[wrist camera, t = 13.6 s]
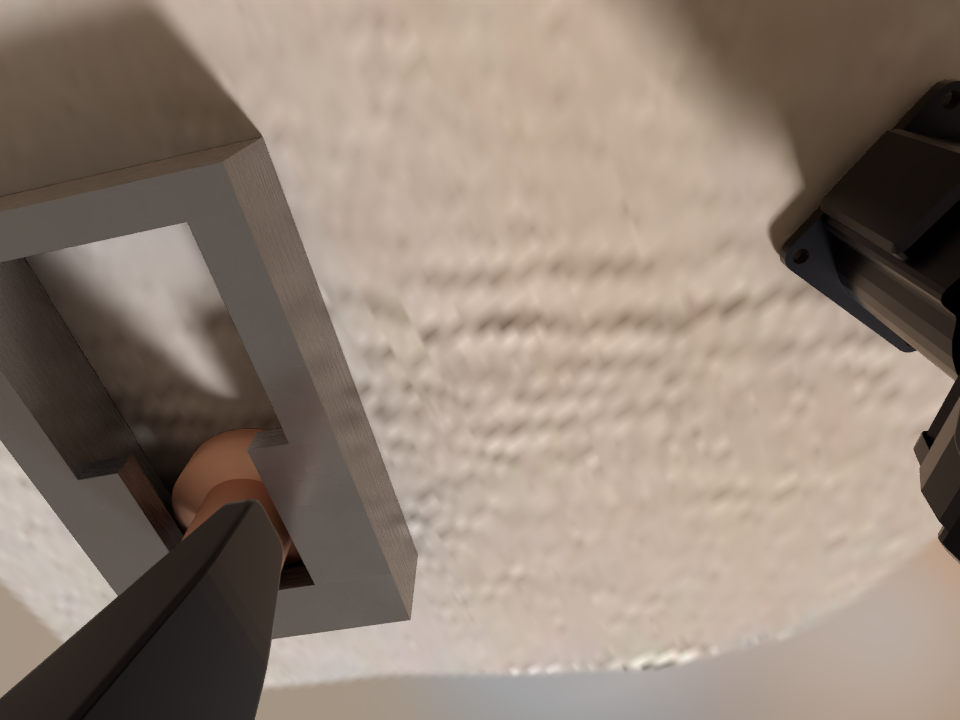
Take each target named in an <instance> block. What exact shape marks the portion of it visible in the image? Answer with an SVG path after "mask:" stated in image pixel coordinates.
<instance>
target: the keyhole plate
mask: <svg viewBox="0 0 960 720" xmlns="http://www.w3.org/2000/svg"><path fill="white" fill-rule="evenodd" d="M184 222H187V223H188V225H189V227H190V229H191V231H192V234H193V236H194V238H195V240H196V242H197V244H198V247H199V249H200V251H201V253H202V255H203V258H204V260H205V262H206V264H207V266H208V268H209V271H210V273H211V275H212V277H213V279H214V281H215V284H216V286H217V288H218V290H219V292H220V294H221V297H222V299H223V301H224V303H225V305H226V307H227V310H228V312H229V314H230V316H231V318H232V321H233V323H234V325H235V327H236V329H237V331H238V334H239V336H240V338H241V340H242V342H243V344H244V347H245V349H246V351H247V353H248V355H249V357H250V360H251V362H252V364H253V366H254V368H255V370H256V373H257V375H258V377H259V379H260V381H261V384H262V386H263V388H264V390H265V392H266V394H267V397H268V399H269V401H270V403H271V405H272V407H273V410H274V412H275V414H276V416H277V418H278V420H279V423H280V425H281V427H282V428H279V429H273V430H267V431H262V432H257V433H256V435H255V437H254V439H253V440H252V442H251V444H250V446H249V448H248V450H247V452H248V454H249V456H250V458H251V460H252V462H253V464H254V466H255V468H256V470H257V472H258V473H259V475H260V477H261V479H262V481H263V483H264V485H265V487H266V489H267V491H268V493H269V495H270V497H271V499H272V501H273V503H274V505H275V507H276V509H277V511H278V513H279V515H280V517H281V519H282V521H283V523H284V525H285V527H286V529H287V531H288V533H289V535H290V537H291V539H292V541H293V542H294V544H295V546H296V548H297V550H298V552H299V554H300V556H301V558H302V560H301V561H298V562H295V563H293V564H289V565H285V566H283V567H282V570H281V576H280V583H279V590H278V597H277V604H276V612H275V619H274V626H273V633H272V639H276V638H283V637H290V636H298V635H305V634H312V633H319V632H326V631H334V630H341V629H348V628H355V627H362V626H370V625H377V624H384V623H391V622H398V621H406V620H410V619H411V610H412V602H413V593H414V584H415V575H416V566H417V557H418V554H417V551H416V549H415V546H414V543H413V541H412V538H411V535H410V533H409V530H408V527H407V525H406V522H405V519H404V516H403V514H402V511H401V508H400V506H399V503H398V500H397V498H396V495H395V492H394V489H393V487H392V484H391V481H390V479H389V476H388V473H387V471H386V468H385V465H384V463H383V460H382V457H381V454H380V452H379V449H378V446H377V444H376V441H375V438H374V436H373V433H372V430H371V427H370V425H369V422H368V419H367V417H366V414H365V411H364V409H363V406H362V403H361V400H360V398H359V395H358V392H357V390H356V387H355V384H354V382H353V379H352V376H351V374H350V371H349V368H348V365H347V363H346V360H345V357H344V355H343V352H342V349H341V347H340V344H339V341H338V338H337V336H336V333H335V330H334V328H333V325H332V322H331V320H330V317H329V314H328V312H327V309H326V306H325V303H324V301H323V298H322V295H321V293H320V290H319V287H318V285H317V282H316V279H315V276H314V274H313V271H312V268H311V266H310V263H309V260H308V258H307V255H306V252H305V250H304V247H303V244H302V241H301V239H300V236H299V233H298V231H297V228H296V225H295V223H294V220H293V217H292V214H291V212H290V209H289V206H288V204H287V201H286V198H285V196H284V193H283V190H282V187H281V185H280V182H279V179H278V177H277V174H276V171H275V169H274V166H273V163H272V161H271V158H270V155H269V152H268V150H267V147H266V144H265V142H264V139H263V137H259V138H255V139H251V140H246V141H242V142H238V143H233V144H229V145H225V146H220V147H216V148H211V149H207V150H203V151H198V152H194V153H190V154H185V155H181V156H177V157H172V158H168V159H163V160H159V161H155V162H150V163H146V164H142V165H137V166H133V167H129V168H124V169H120V170H115V171H111V172H107V173H102V174H98V175H94V176H89V177H85V178H81V179H76V180H72V181H67V182H63V183H59V184H54V185H50V186H46V187H41V188H37V189H33V190H28V191H24V192H19V193H15V194H11V195H6V196H2V197H0V440H1V441H2V443H3V444H4V445H5V447H6V448H7V449H8V451H9V452H10V453H11V455H12V456H13V457H14V459H15V460H16V461H17V463H18V464H19V465H20V467H21V468H22V469H23V471H24V472H25V473H26V475H27V476H28V477H29V479H30V480H31V481H32V483H33V484H34V485H35V486H36V488H37V489H38V490H39V492H40V493H41V494H42V496H43V497H44V498H45V500H46V501H47V502H48V504H49V505H50V506H51V508H52V509H53V510H54V512H55V513H56V514H57V516H58V517H59V518H60V520H61V521H62V522H63V524H64V525H65V526H66V528H67V529H68V530H69V532H70V533H71V534H72V536H73V537H74V538H75V540H76V541H77V542H78V544H79V545H80V546H81V548H82V549H83V550H84V552H85V553H86V554H87V556H88V557H89V558H90V559H91V561H92V562H93V563H94V565H95V566H96V567H97V569H98V570H99V571H100V573H101V574H102V575H103V577H104V578H105V579H106V581H107V582H108V583H109V585H110V586H111V587H112V589H113V590H114V591H115V593H116V594H117V595H118V596H119V595H120V594H121V593H122V592H124V591H125V590H126V589H127V588H128V587H129V586H131V585H132V584H133V583H134V582H135V581H136V580H137V579H139V578H140V577H141V576H142V575H143V574H144V573H146V572H147V571H148V570H149V569H150V568H151V567H152V566H154V565H155V564H156V563H157V562H158V561H159V560H161V559H162V558H163V557H164V556H165V555H166V554H167V553H169V552H170V551H171V550H172V549H173V548H174V547H176V546H177V545H178V544H179V543H180V542H181V541H182V539H183V537H184V535H185V533H184V531H183V530H182V529H181V527H180V526H179V524H178V522H177V520H176V518H175V516H174V512H173V509H172V497H171V496H170V494H169V493H168V491H167V489H166V488H165V486H164V484H163V483H162V481H161V480H160V478H159V476H158V475H157V473H156V471H155V470H154V468H153V467H152V465H151V463H150V462H149V460H148V458H147V457H146V455H145V454H144V452H143V450H142V449H141V447H140V445H139V444H138V442H137V441H136V439H135V437H134V436H133V434H132V432H131V431H130V429H129V427H128V426H127V424H126V423H125V421H124V419H123V418H122V416H121V414H120V413H119V411H118V410H117V408H116V406H115V405H114V403H113V401H112V400H111V398H110V397H109V395H108V393H107V392H106V390H105V388H104V387H103V385H102V384H101V382H100V380H99V379H98V377H97V375H96V374H95V372H94V371H93V369H92V367H91V366H90V364H89V362H88V361H87V359H86V358H85V356H84V354H83V353H82V351H81V349H80V348H79V346H78V345H77V343H76V341H75V340H74V338H73V336H72V335H71V333H70V332H69V330H68V328H67V327H66V325H65V323H64V322H63V320H62V319H61V317H60V315H59V314H58V312H57V310H56V309H55V307H54V306H53V304H52V302H51V301H50V299H49V297H48V296H47V294H46V292H45V291H44V289H43V288H42V286H41V284H40V283H39V281H38V279H37V278H36V276H35V275H34V273H33V271H32V270H31V268H30V266H29V265H28V263H27V262H26V260H25V258H24V257H27V256H32V255H37V254H41V253H46V252H50V251H55V250H60V249H64V248H69V247H73V246H78V245H83V244H87V243H92V242H96V241H101V240H106V239H110V238H115V237H120V236H124V235H129V234H133V233H138V232H143V231H147V230H152V229H156V228H161V227H166V226H170V225H175V224H179V223H184Z"/></svg>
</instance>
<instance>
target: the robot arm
mask: <svg viewBox="0 0 960 720" xmlns="http://www.w3.org/2000/svg"><path fill="white" fill-rule="evenodd" d="M950 91H951V93H952V97H951V100H950V101H949V103H948V104H947V105H945V106H944V107H943V106H942V100H943V98H944V97H945V95H946V94H947V93H949V92H950ZM799 249H804V251H803V254H802V256H801V257H799V258H798V259H794V260H793V255H794V254H795V252H796V251H798V250H799ZM780 260H781V261H782V263H783V264H784V265H785V266H786V267H788V268H789V269H790V270H791V271H793V272H794V273H795V274H797V275H798V276H799V277H801V278H802V279H804V280H805V281H806V282H808V283H809V284H810V285H812V286H813V287H815V288H816V289H817V290H819V291H820V292H821V293H823V294H824V295H825V296H827V297H828V298H830V299H831V300H832V301H834V302H835V303H836V304H838V305H839V306H840V307H842V308H843V309H845V310H846V311H847V312H849V313H850V314H851V315H853V316H854V317H855V318H857V319H858V320H860V321H861V322H862V323H864V324H865V325H866V326H868V327H869V328H871V329H872V330H873V331H875V332H876V333H877V334H879V335H880V336H881V337H883V338H884V339H886V340H887V341H888V342H890V343H891V344H892V345H894V346H895V347H896V348H898V349H899V350H901V351H903V352H913V351H918V352H920V353H921V354H922V355H923V356H925V357H926V358H927V359H928V360H930V361H931V362H932V363H933V364H935V365H936V366H937V367H938V368H940V369H941V370H942V371H943V372H945V373H946V374H947V375H948V376H950V377H951V378H952V379H953V380H955V383H954V384H953V386H952V388H951V390H950V392H949V394H948V395H947V397H946V399H945V401H944V403H943V404H942V406H941V408H940V410H939V412H938V414H937V415H936V417H935V419H934V421H933V423H932V424H931V426H930V428H929V430H928V431H923V432H922V433H921V435H920V437H919V439H918V441H917V442H916V444H915V446H914V452H915V454H916V457H917V459H918V461H919V464H920V483H921V492H922V493H923V495H924V497H925V499H926V500H927V502H928V504H929V505H930V507H931V509H932V510H933V512H934V514H935V515H936V517H937V519H938V520H939V522H940V523H941V524H942V525H943V527H942V528H941V530H940V531H939V533H938V539H939V540H940V542H941V543H942V545H943V546H944V548H945V550H946V551H947V552H948V553H949V554H950V555H951V556H952V557H953V558H954V559H955V560H956V561H957V562H958V563H959V564H960V81H958V80H952V79H949V80H943V81H940V82H938V83H937V84H935V85H934V86H933V87H932V88H931V89H930V90H929V91H928V92H927V93H926V94H925V95H924V96H923V97H922V98H921V99H920V100H919V101H918V102H917V103H916V105H915V106H914V107H913V108H912V109H911V110H910V111H909V112H908V113H907V114H906V115H905V116H904V117H903V118H902V119H901V121H900V122H899V123H898V124H897V125H896V126H895V127H894V128H893V129H892V130H890V131H887V132H885V133H884V134H883V135H882V136H881V137H880V139H879V140H878V141H877V142H876V143H875V144H874V145H873V146H872V147H871V148H870V149H869V150H868V151H867V152H866V154H865V155H864V156H863V157H862V158H861V159H860V160H859V161H858V162H857V163H856V164H855V165H854V166H853V167H852V168H851V170H850V171H849V172H848V173H847V174H846V175H845V176H844V177H843V178H842V179H841V180H840V181H839V182H838V183H837V185H836V186H835V187H834V188H833V189H832V190H831V191H830V192H829V193H828V194H827V195H826V196H825V197H824V198H823V200H822V205H821V206H820V207H819V208H818V209H817V210H816V211H815V212H814V213H813V214H812V215H811V216H810V217H809V218H808V220H807V221H806V222H805V223H804V224H803V225H802V226H801V227H800V228H799V229H798V230H797V231H796V232H795V233H794V234H793V236H792V237H791V238H790V239H789V240H788V241H787V242H786V243H785V244H784V246H783V247H782V249H781V251H780ZM282 561H283V548H282V543H281V540H280V538H279V536H278V534H277V532H276V530H275V528H274V526H273V524H272V523H271V521H270V519H269V517H268V515H267V513H266V511H265V509H264V507H263V506H262V504H261V503H260V502H259V501H258V500H256V499H246V500H240V501H234V502H229V503H226V504H224V505H223V506H222V507H221V508H219V509H218V510H217V511H216V512H215V513H214V514H212V515H211V516H210V517H209V518H208V519H207V520H206V521H204V522H203V523H202V524H201V525H200V526H199V527H197V528H196V529H195V530H194V531H193V532H192V533H191V534H189V535H188V536H187V537H186V538H185V539H184V540H182V541H181V542H180V543H179V544H178V545H177V546H176V547H174V548H173V549H172V550H171V551H170V552H169V553H167V554H166V555H165V556H164V557H163V558H162V559H161V560H159V561H158V562H157V563H156V564H155V565H154V566H152V567H151V568H150V569H149V570H148V571H147V572H146V573H144V574H143V575H142V576H141V577H140V578H139V579H137V580H136V581H135V582H134V583H133V584H132V585H131V586H129V587H128V588H127V589H126V590H125V591H124V592H122V593H121V594H120V595H119V596H118V597H117V598H116V599H114V600H113V601H112V602H111V603H110V604H109V605H107V606H106V607H105V608H104V609H103V610H102V611H101V612H99V613H98V614H97V615H96V616H95V617H94V618H92V619H91V620H90V621H89V622H88V623H87V624H86V625H84V626H83V627H82V628H81V629H80V630H79V631H77V632H76V633H75V634H74V635H73V636H72V637H71V638H69V639H68V640H67V641H66V642H65V643H64V644H62V645H61V646H60V647H59V648H58V649H57V650H56V651H54V652H53V653H52V654H51V655H50V656H49V657H48V658H46V659H45V660H44V661H43V662H42V663H41V664H40V665H38V666H37V667H36V668H35V669H34V670H32V671H31V672H30V673H29V674H28V675H27V676H26V677H24V678H23V679H22V680H21V681H20V682H19V683H18V684H16V685H15V686H14V687H13V688H12V689H11V690H9V691H8V692H7V693H6V694H5V695H4V696H3V697H1V698H0V720H255V716H256V712H257V708H258V704H259V700H260V696H261V691H262V688H263V683H264V679H265V675H266V670H267V665H268V659H269V654H270V648H271V640H272V633H273V626H274V619H275V612H276V604H277V597H278V590H279V583H280V576H281V568H282Z"/></svg>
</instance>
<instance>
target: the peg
mask: <svg viewBox="0 0 960 720" xmlns="http://www.w3.org/2000/svg"><path fill="white" fill-rule="evenodd" d="M262 431H267V430H261V429H237V430H231V431H227V432H224V433H220V434H218V435H216V436H214V437H211V438H210V439H208V440H207V441H205V442H204V443H203V444H202V445H201V446H200V447H198V449H197V450H196V451H195V453H194V454H193V456H192V457H191V459H190V460H189V462H188V463H187V465H186V467H185V468H184V470H183V471H182V473H181V474H180V476H179V478H178V479H177V481H176V483H175V485H174V488H173V492H172V509H173V512H174V516H175V518H176V520H177V522H178V524H179V526H180V527H181V529H182V530H183V531H184V533H185V535H184V537H183V539H182V540H184V539H185V538H186V537H187V536H188V535H189V534H191V533H192V532H193V531H194V530H195V529H196V528H197V527H199V526H200V525H201V524H202V523H203V522H204V521H206V520H207V519H208V518H209V517H210V516H211V515H212V514H214V513H215V512H216V511H217V510H218V509H219V508H221V507H222V506H223V505H224V504H226V503H229V502H234V501H240V500H246V499H256V500H258V501H259V502H260V503H261V504H262V506H263V507H264V509H265V511H266V513H267V515H268V517H269V519H270V521H271V523H272V524H273V526H274V528H275V530H276V532H277V534H278V536H279V538H280V540H281V543H282V548H283V561H282V567H283V566H285V565H289V564H293V563H295V562H298V561H301V560H302V558H301V556H300V554H299V552H298V550H297V548H296V546H295V544H294V542H293V541H292V539H291V537H290V535H289V533H288V531H287V529H286V527H285V525H284V523H283V521H282V519H281V517H280V515H279V513H278V511H277V509H276V507H275V505H274V503H273V501H272V499H271V497H270V495H269V493H268V491H267V489H266V487H265V485H264V483H263V481H262V479H261V477H260V475H259V473H258V472H257V470H256V468H255V466H254V464H253V462H252V460H251V458H250V456H249V454H248V452H247V450H248V448H249V446H250V444H251V442H252V440H253V439H254V437H255V435H256V433H257V432H262ZM281 570H282V568H281Z"/></svg>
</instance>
